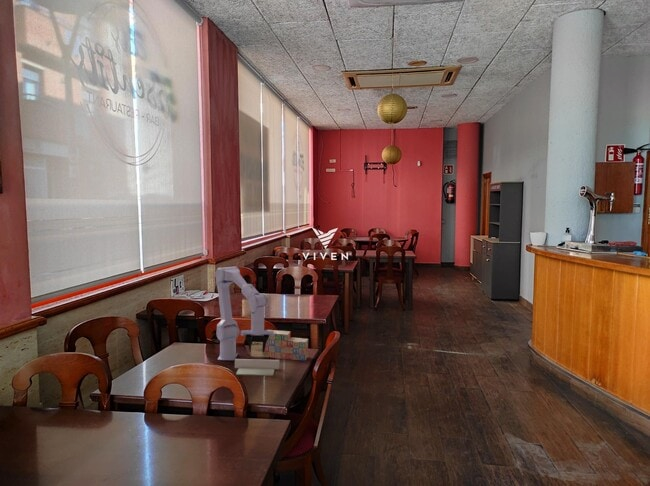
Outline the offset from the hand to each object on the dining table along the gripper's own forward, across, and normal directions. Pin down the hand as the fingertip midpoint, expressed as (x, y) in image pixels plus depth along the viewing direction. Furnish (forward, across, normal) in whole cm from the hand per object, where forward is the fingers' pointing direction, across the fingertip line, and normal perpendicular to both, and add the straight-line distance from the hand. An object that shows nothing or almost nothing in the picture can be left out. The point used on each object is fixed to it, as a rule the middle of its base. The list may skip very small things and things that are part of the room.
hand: (257, 351), depth 198 cm
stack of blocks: (+9, +12, +19) cm, 24 cm away
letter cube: (+2, 0, 0) cm, 2 cm away
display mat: (+8, 0, -3) cm, 9 cm away
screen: (+8, 0, +2) cm, 9 cm away
